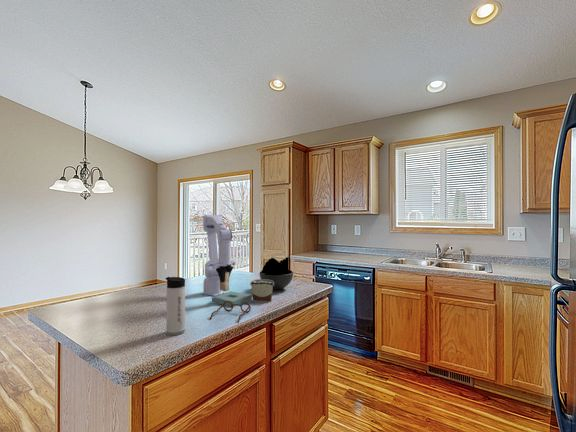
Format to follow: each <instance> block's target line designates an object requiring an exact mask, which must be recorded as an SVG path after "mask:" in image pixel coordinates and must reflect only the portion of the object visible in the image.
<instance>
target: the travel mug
mask: <svg viewBox="0 0 576 432" xmlns="http://www.w3.org/2000/svg"><path fill="white" fill-rule="evenodd" d="M165 280H166V331H165V333H166V335H167V336H173V337H174V336H179V335H181V334H184V333H185V331H186V279H185V278H183V277H182V276H181V277H180V276H166V278H165Z"/></svg>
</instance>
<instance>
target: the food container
mask: <svg viewBox="0 0 576 432" xmlns="http://www.w3.org/2000/svg"><path fill="white" fill-rule="evenodd" d="M250 281H251V282H250V283H249V285H250V286H251V287H250V288H251V295H252V302H266V303H267V302H268V303H271V302H272V300H273V299H272V297H273V290H274V289H273V285H274V282H273V281H272V280H268V279H261V278H259V279H252V280H250Z"/></svg>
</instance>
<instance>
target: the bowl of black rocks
mask: <svg viewBox="0 0 576 432" xmlns="http://www.w3.org/2000/svg"><path fill="white" fill-rule="evenodd" d="M289 259H290V258H289V257H288V256H287V257H285V258H283V259H281V260H280V261H278V260H277V259H276V258H275V257H270V258H269V259H268V260H267V261H265V263H264V265H263V267H262V269H261V271H259V279H268V280H272V281H273V282H274V285H273V290H276V291H277V290H278V291H279V290H282V289H284V288H286V287H287V286H288V285H290V284H291V282H292V280H293V277H294V271H292V270H290V268H289V263H290V262H289V261H290V260H289Z"/></svg>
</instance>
